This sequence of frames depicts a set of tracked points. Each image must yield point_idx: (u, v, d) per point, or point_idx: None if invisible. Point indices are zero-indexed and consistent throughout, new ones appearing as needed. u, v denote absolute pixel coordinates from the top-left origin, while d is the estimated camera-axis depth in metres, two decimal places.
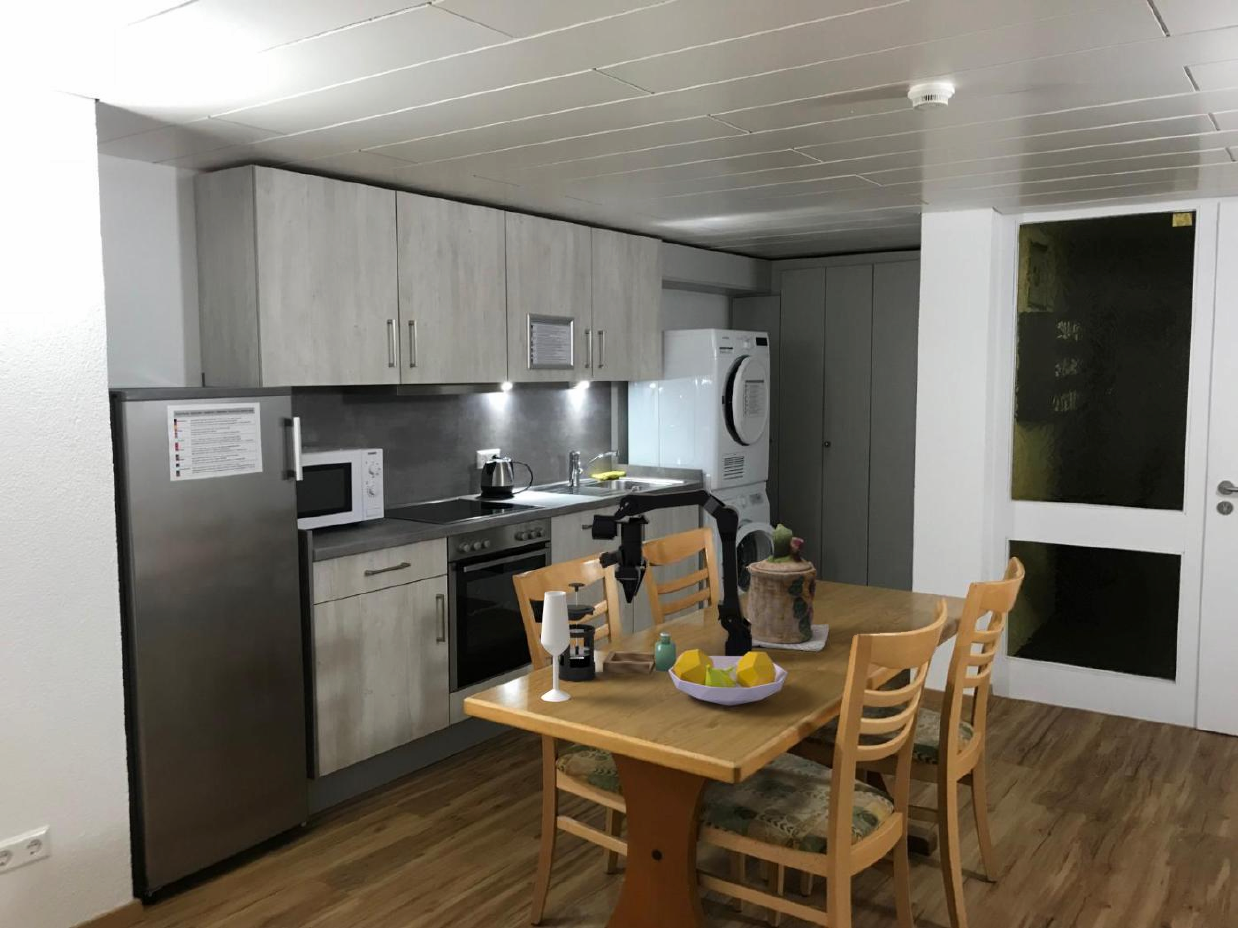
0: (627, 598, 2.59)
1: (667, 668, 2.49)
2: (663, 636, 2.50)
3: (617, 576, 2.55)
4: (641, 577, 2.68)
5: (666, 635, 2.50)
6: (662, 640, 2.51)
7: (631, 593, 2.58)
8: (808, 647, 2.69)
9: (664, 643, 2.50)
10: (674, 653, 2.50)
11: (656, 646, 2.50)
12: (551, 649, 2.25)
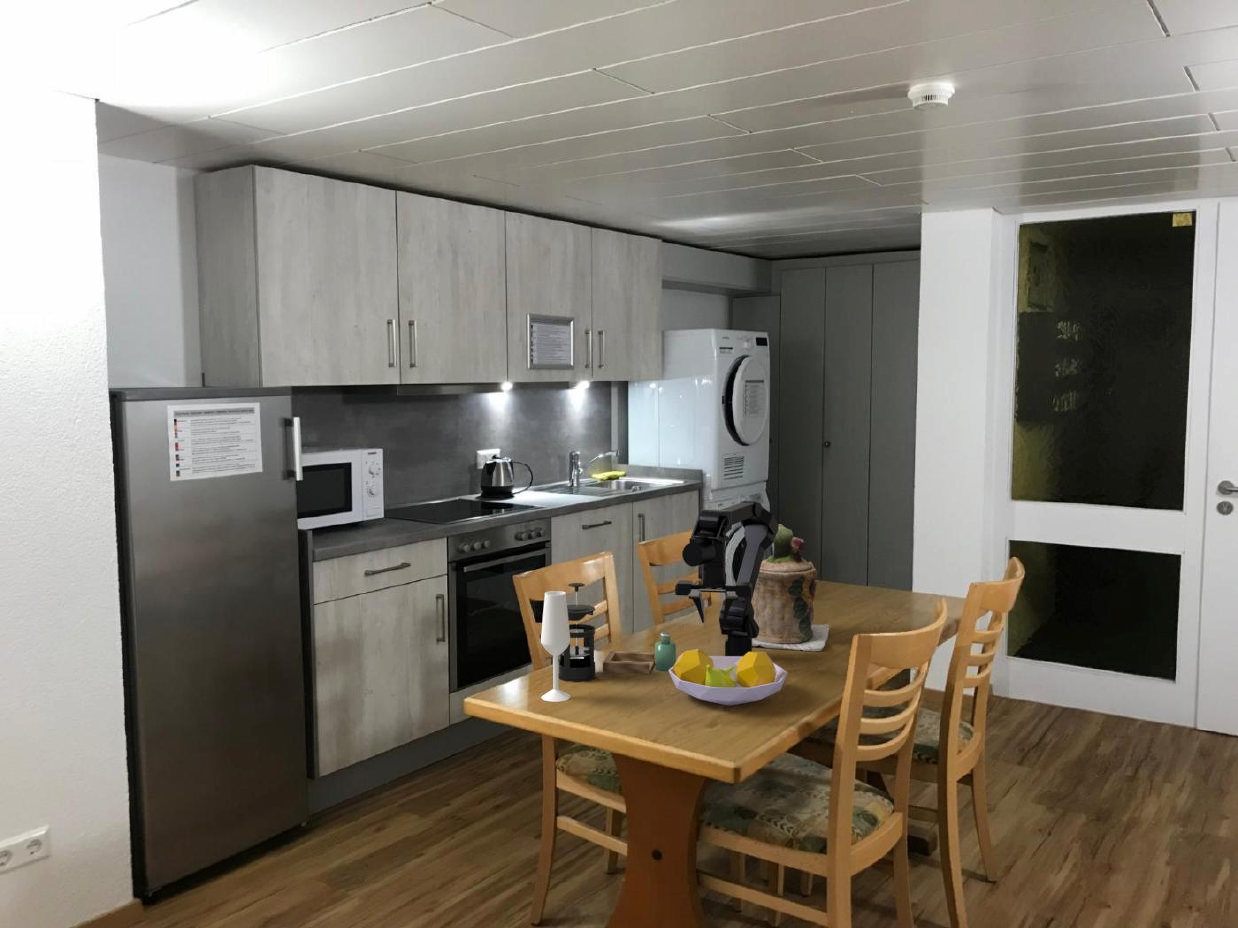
0: None
1: (667, 668, 2.49)
2: (663, 636, 2.50)
3: None
4: (724, 605, 2.46)
5: (666, 635, 2.50)
6: (662, 640, 2.51)
7: None
8: (808, 647, 2.69)
9: (664, 643, 2.50)
10: (674, 653, 2.50)
11: (656, 646, 2.50)
12: (551, 649, 2.25)
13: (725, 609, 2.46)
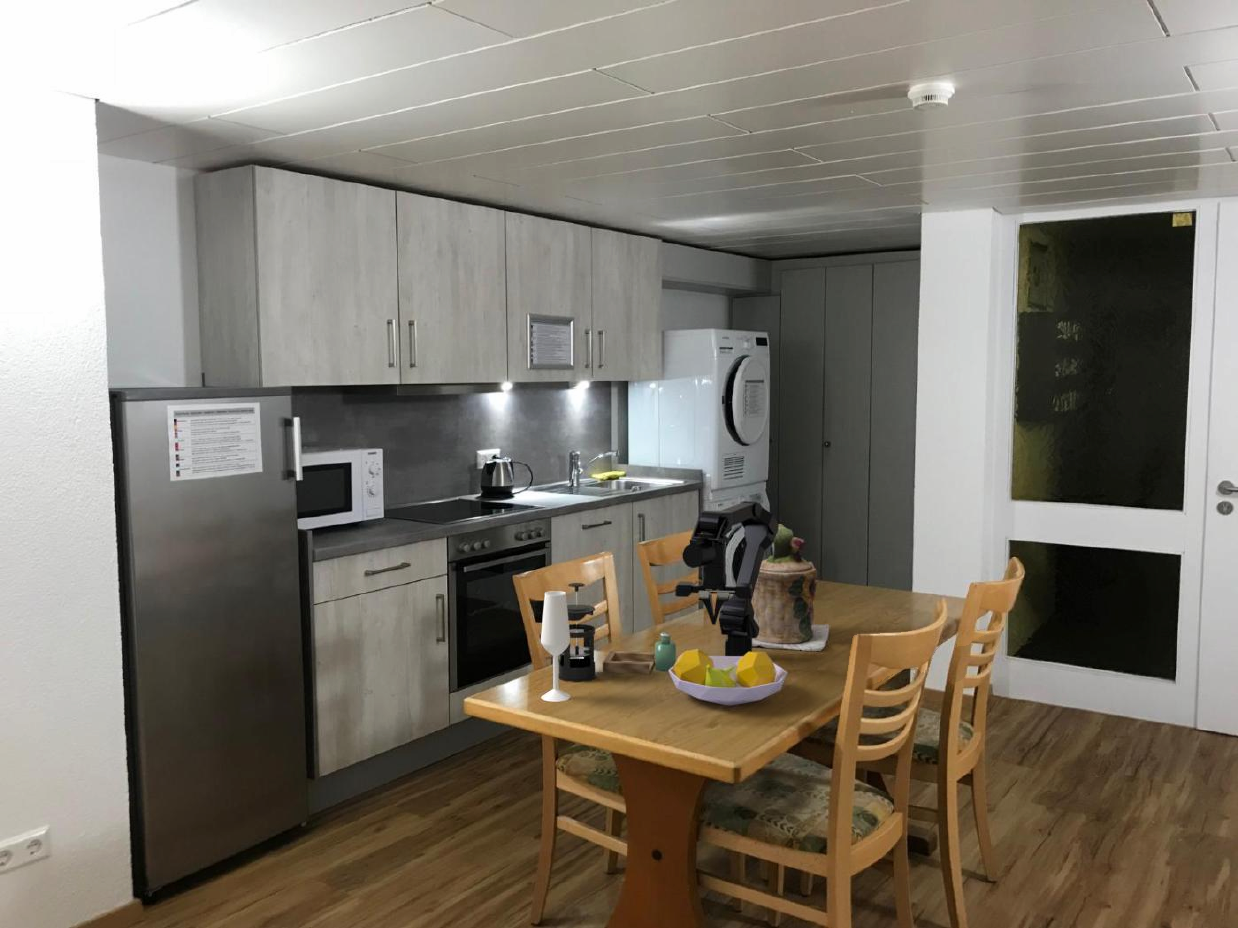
0: None
1: (667, 668, 2.49)
2: (663, 636, 2.50)
3: None
4: (715, 606, 2.47)
5: (666, 635, 2.50)
6: (662, 640, 2.51)
7: (708, 613, 2.48)
8: (808, 647, 2.69)
9: (664, 643, 2.50)
10: (674, 653, 2.50)
11: (656, 646, 2.50)
12: (551, 649, 2.25)
13: (715, 610, 2.47)
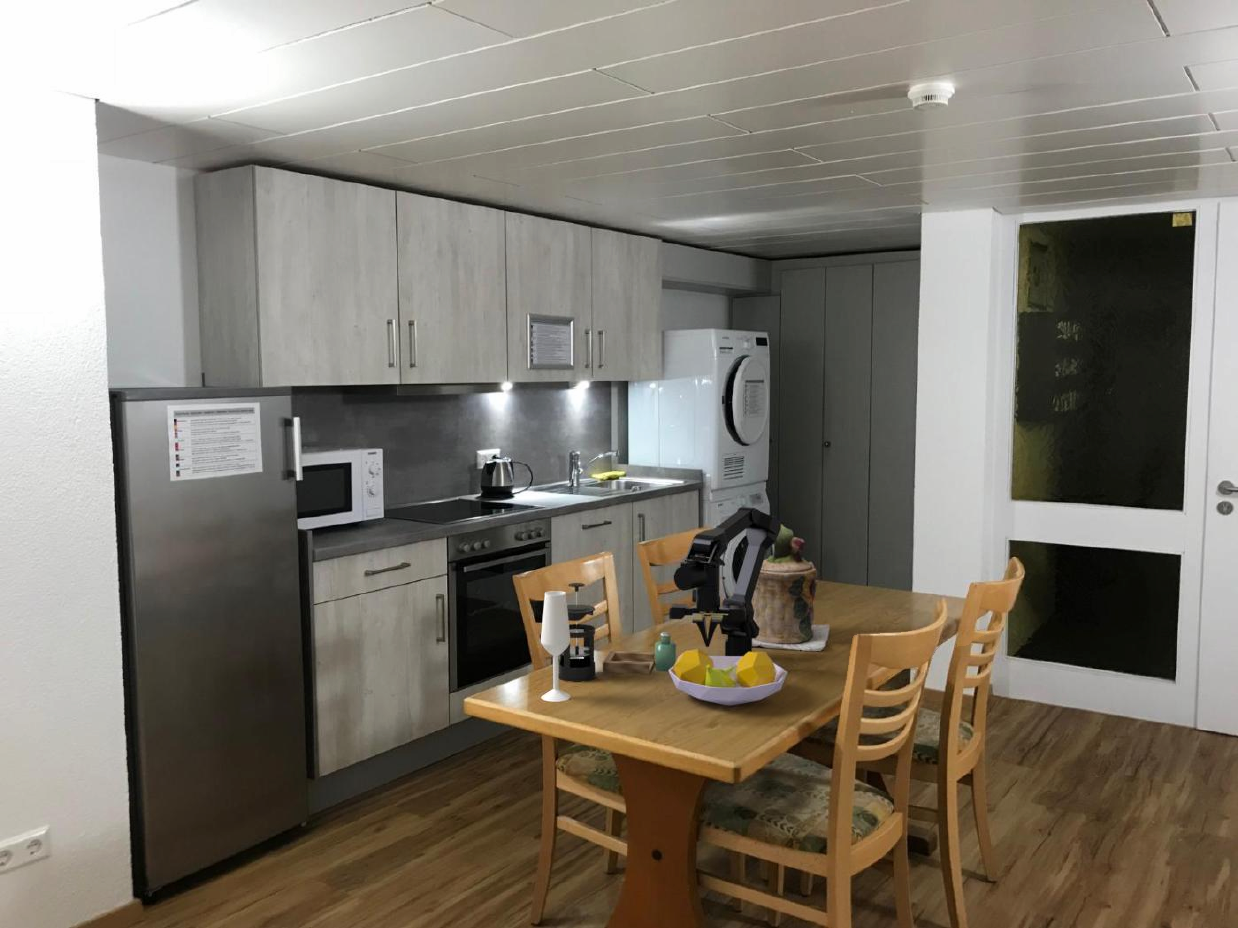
0: None
1: (667, 668, 2.49)
2: (663, 636, 2.50)
3: None
4: (709, 628, 2.47)
5: (666, 635, 2.50)
6: (662, 640, 2.51)
7: None
8: (809, 647, 2.69)
9: (664, 643, 2.50)
10: (674, 653, 2.50)
11: (656, 646, 2.50)
12: (551, 649, 2.25)
13: (709, 632, 2.47)
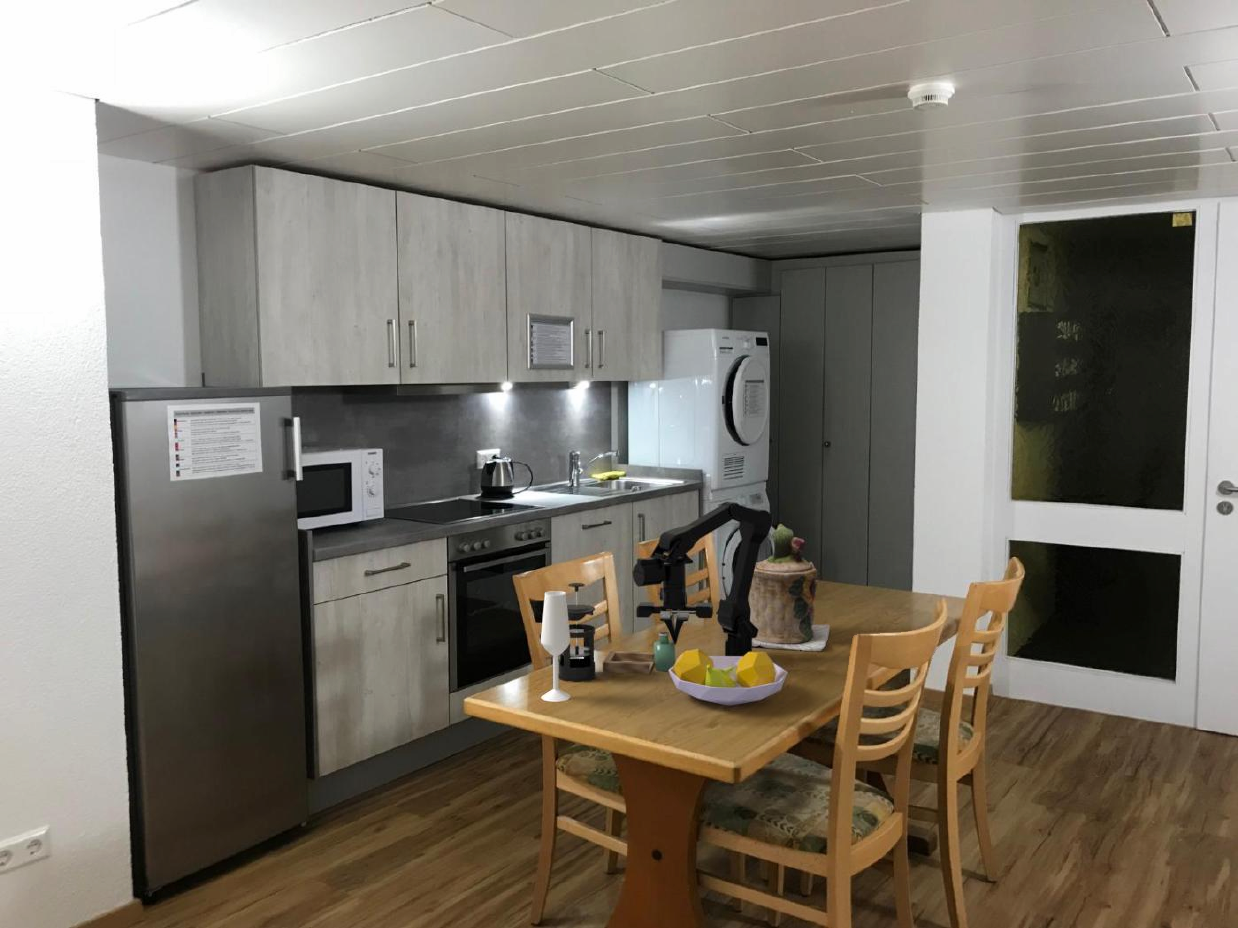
0: None
1: (667, 667, 2.49)
2: (661, 636, 2.50)
3: None
4: (675, 626, 2.49)
5: (664, 634, 2.50)
6: (660, 640, 2.51)
7: (670, 633, 2.50)
8: (809, 647, 2.69)
9: (663, 643, 2.50)
10: (673, 652, 2.50)
11: (655, 646, 2.50)
12: (551, 649, 2.25)
13: (676, 630, 2.49)
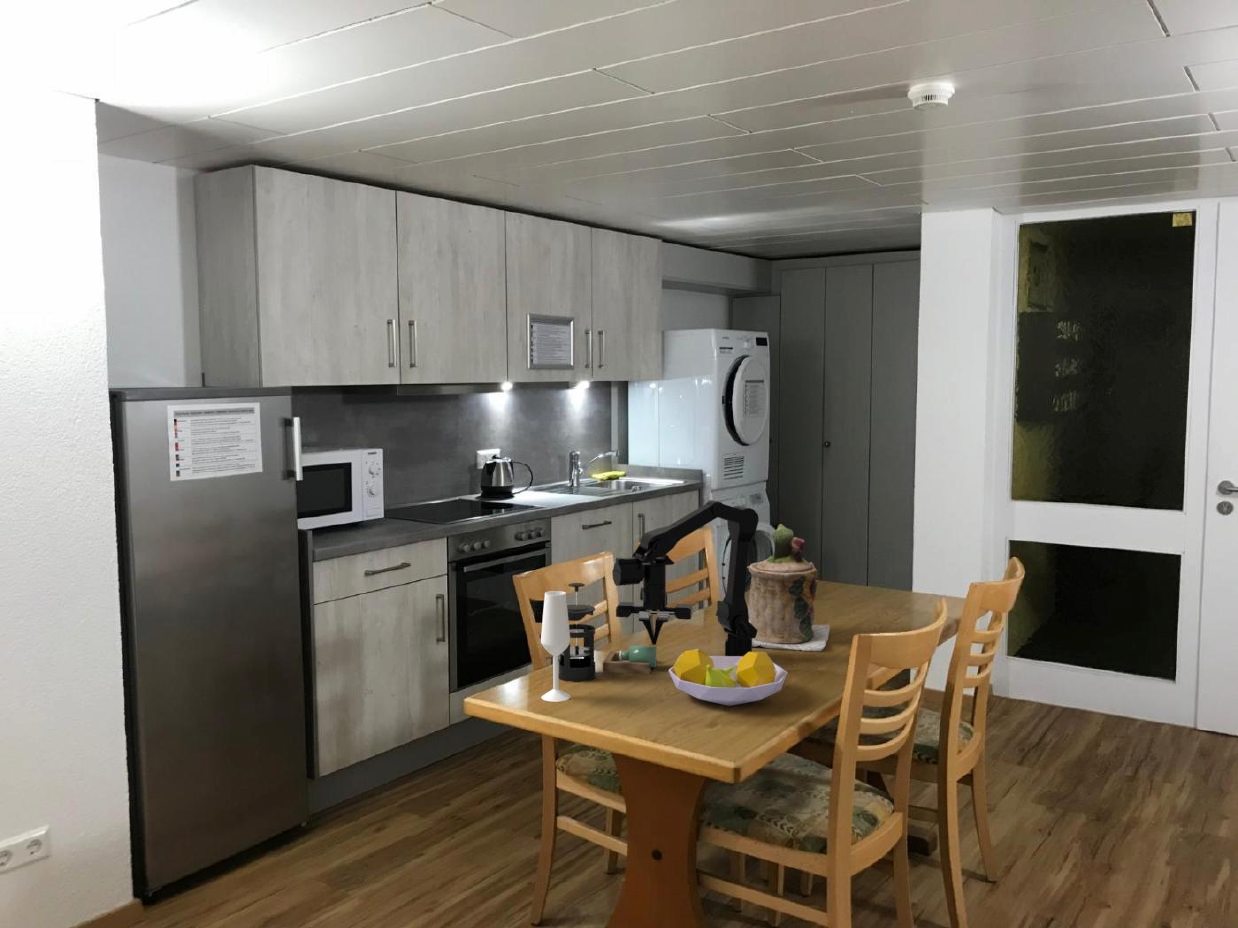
0: None
1: (651, 658, 2.49)
2: (621, 659, 2.52)
3: None
4: (655, 626, 2.49)
5: (620, 656, 2.52)
6: (626, 659, 2.52)
7: (649, 634, 2.51)
8: (809, 647, 2.69)
9: (628, 658, 2.51)
10: (638, 649, 2.51)
11: None
12: (551, 649, 2.25)
13: (655, 630, 2.49)
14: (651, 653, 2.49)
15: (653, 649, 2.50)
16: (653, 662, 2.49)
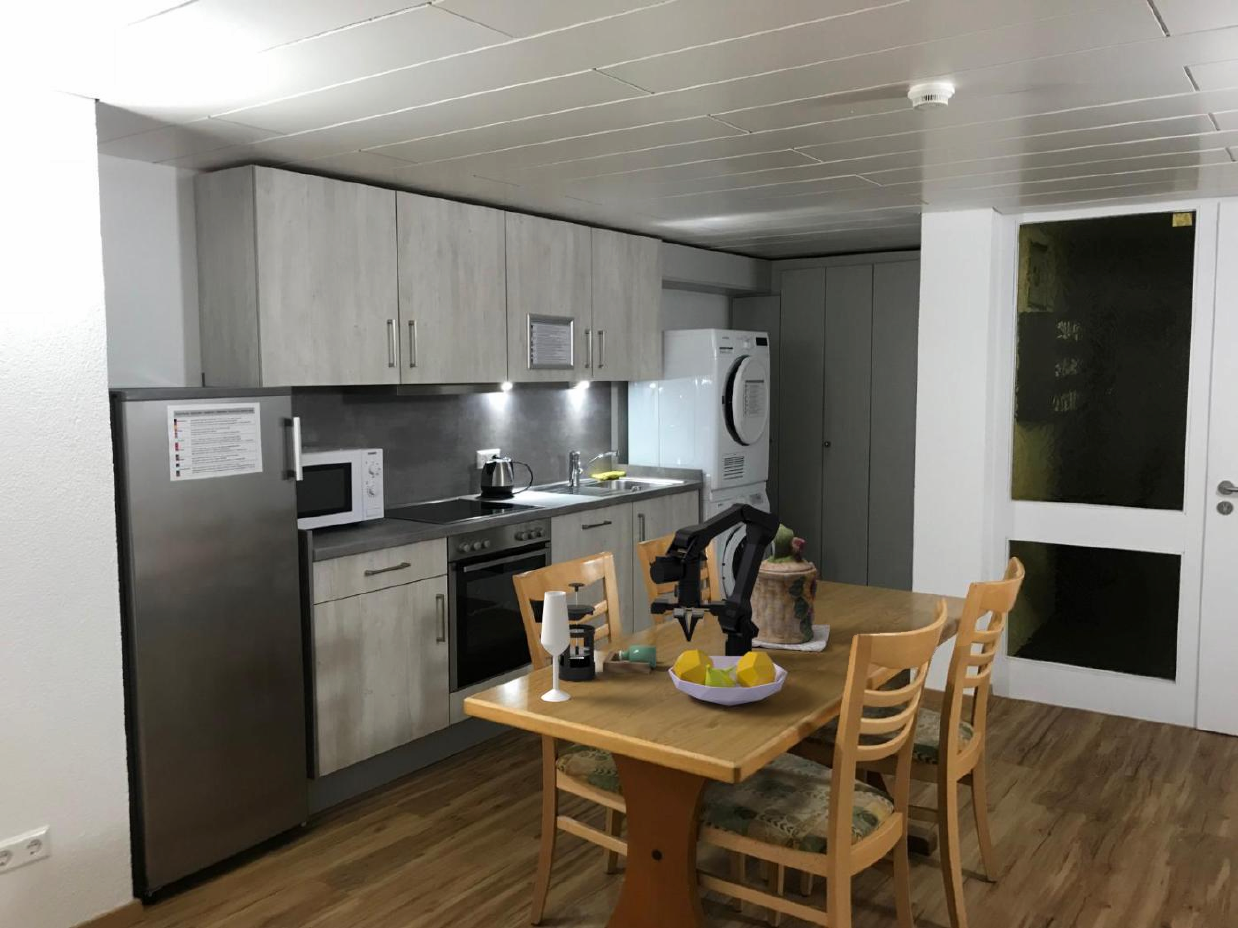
0: None
1: (651, 657, 2.49)
2: (621, 658, 2.52)
3: None
4: (690, 623, 2.48)
5: (620, 655, 2.52)
6: (626, 659, 2.52)
7: None
8: (809, 647, 2.69)
9: (628, 658, 2.52)
10: (638, 648, 2.51)
11: None
12: (551, 649, 2.25)
13: (690, 627, 2.48)
14: (651, 652, 2.50)
15: (653, 648, 2.50)
16: (653, 661, 2.49)
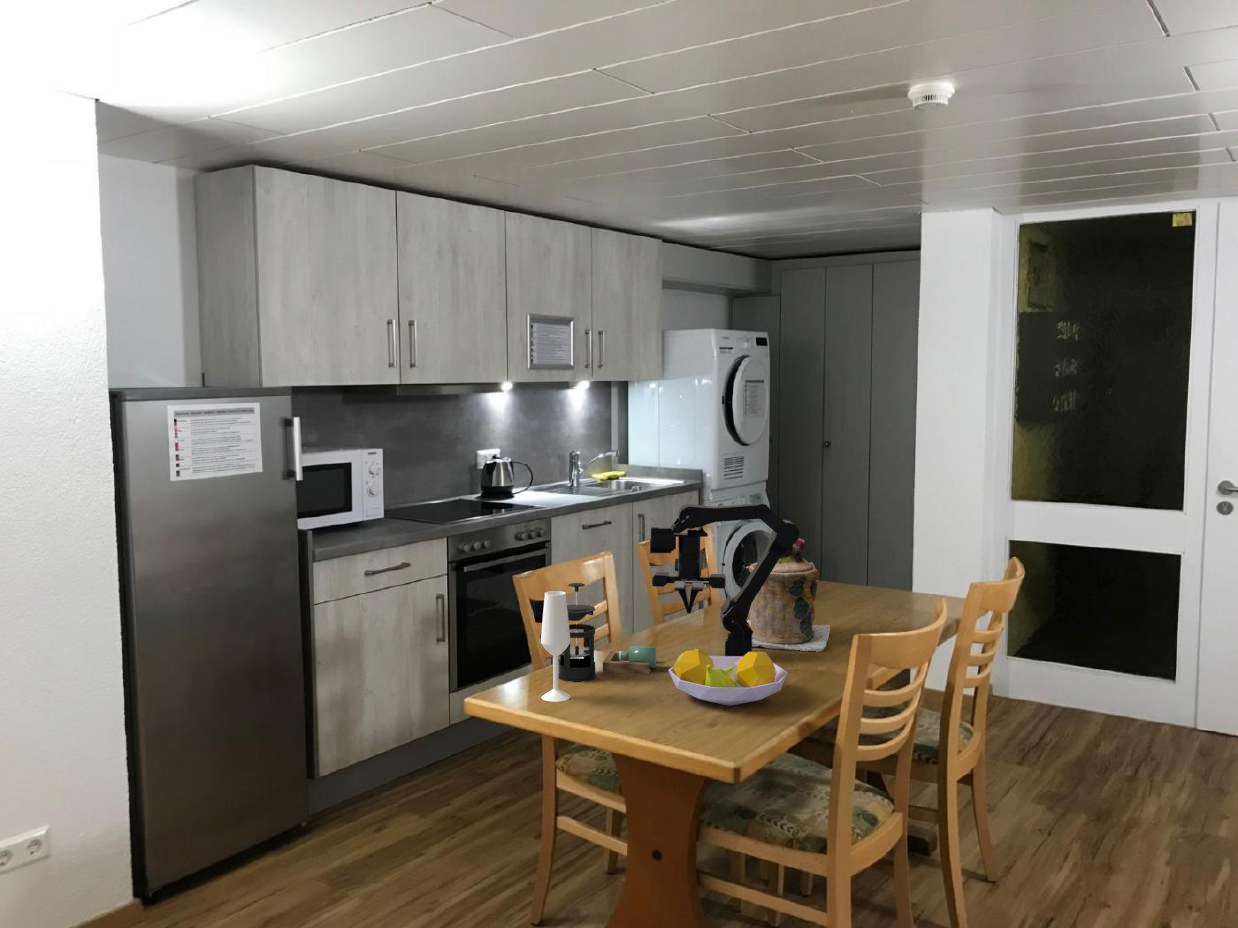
0: None
1: (651, 660, 2.49)
2: (621, 659, 2.51)
3: None
4: (690, 595, 2.58)
5: (620, 657, 2.51)
6: (626, 660, 2.52)
7: (684, 603, 2.59)
8: (809, 647, 2.68)
9: (628, 659, 2.51)
10: (637, 651, 2.50)
11: None
12: (551, 649, 2.25)
13: (690, 599, 2.58)
14: (651, 655, 2.49)
15: (653, 651, 2.49)
16: (653, 664, 2.49)
